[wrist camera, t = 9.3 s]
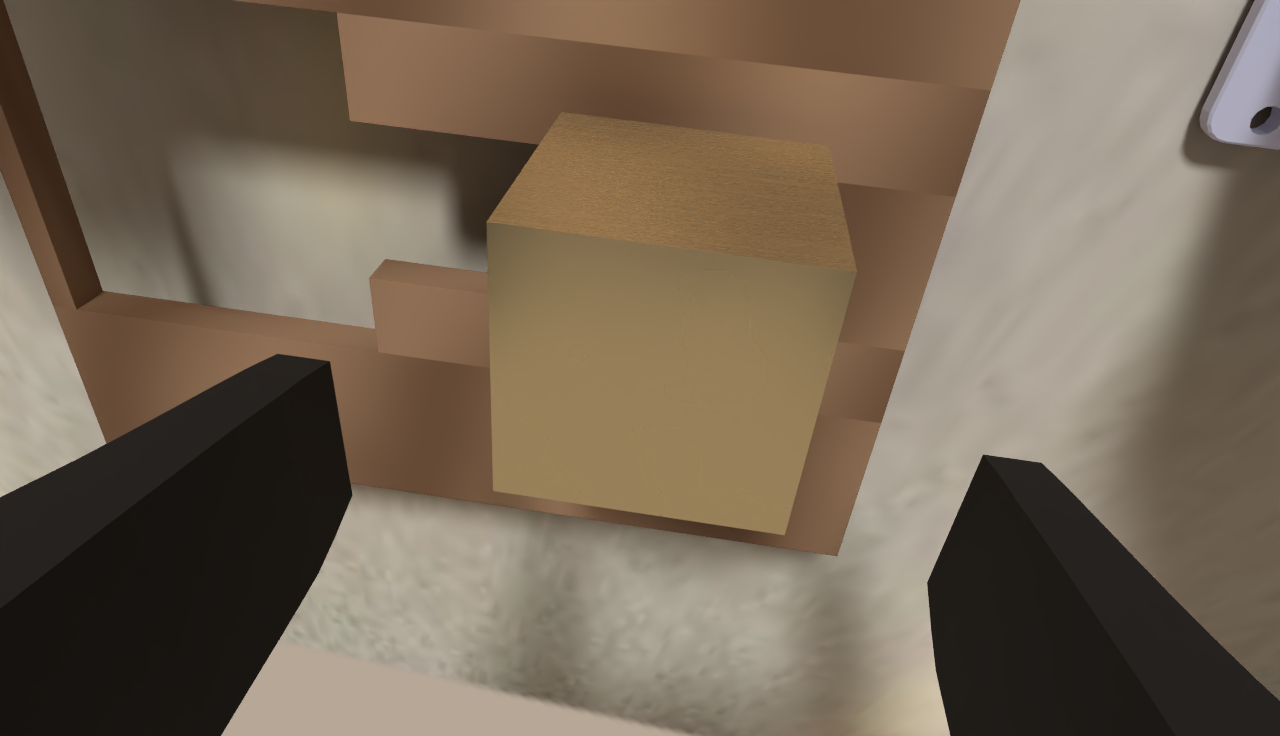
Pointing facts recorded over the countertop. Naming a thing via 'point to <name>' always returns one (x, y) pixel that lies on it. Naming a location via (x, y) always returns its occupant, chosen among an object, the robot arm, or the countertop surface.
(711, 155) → the brass peg
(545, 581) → the countertop surface
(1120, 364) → the countertop surface
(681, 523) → the keyhole board
